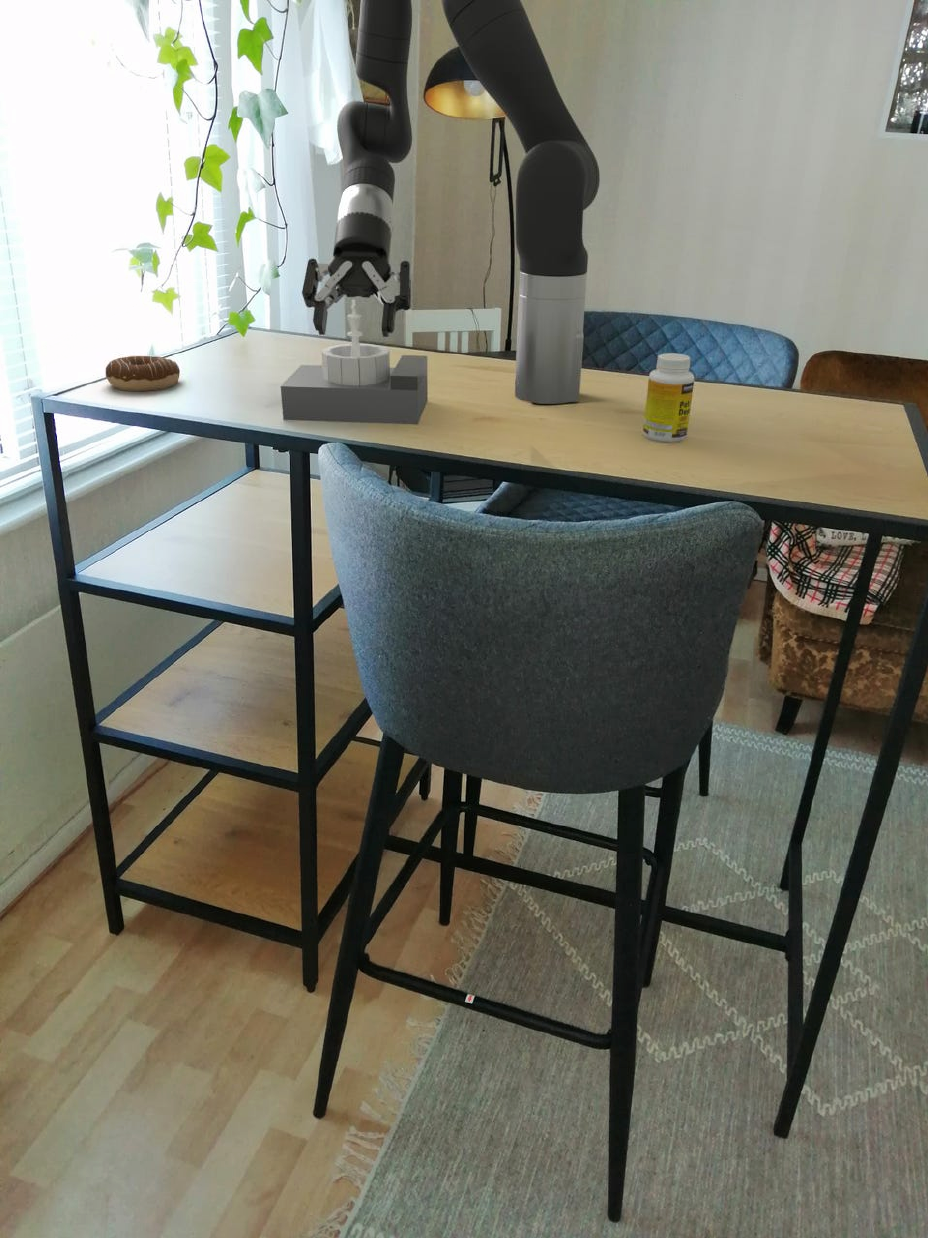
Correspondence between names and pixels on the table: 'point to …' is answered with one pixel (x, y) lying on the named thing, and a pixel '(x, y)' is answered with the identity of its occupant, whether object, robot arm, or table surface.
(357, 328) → the chess piece
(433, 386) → the table surface
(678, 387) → the supplement bottle
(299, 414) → the camera body
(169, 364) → the donut
